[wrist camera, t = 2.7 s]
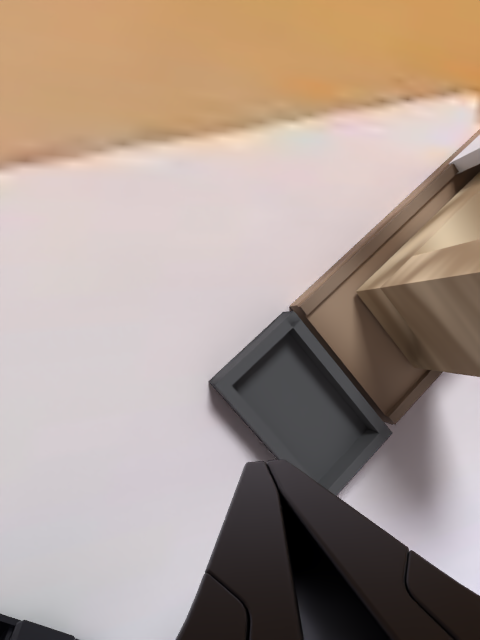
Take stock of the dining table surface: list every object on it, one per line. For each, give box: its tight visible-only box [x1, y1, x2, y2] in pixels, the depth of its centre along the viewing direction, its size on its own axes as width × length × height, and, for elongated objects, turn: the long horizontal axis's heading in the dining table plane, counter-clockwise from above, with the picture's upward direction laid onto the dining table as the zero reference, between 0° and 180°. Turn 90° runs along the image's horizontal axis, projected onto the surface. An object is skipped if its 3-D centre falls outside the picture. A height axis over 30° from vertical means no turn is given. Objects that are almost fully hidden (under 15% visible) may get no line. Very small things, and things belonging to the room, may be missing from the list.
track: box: [290, 130, 480, 425], centre depth 25 cm, size 24×9×1 cm, turn 131°
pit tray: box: [209, 311, 392, 496], centre depth 22 cm, size 6×9×2 cm, turn 41°
